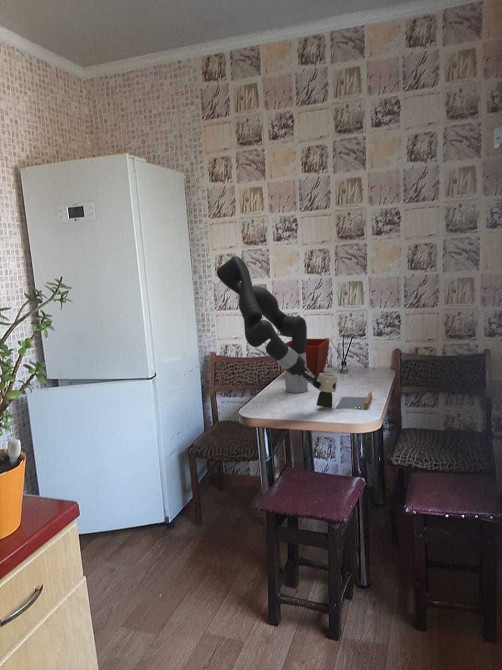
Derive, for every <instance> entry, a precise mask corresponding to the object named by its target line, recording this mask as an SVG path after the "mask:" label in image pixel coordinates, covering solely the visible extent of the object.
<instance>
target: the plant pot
mask: <svg viewBox="0 0 502 670" xmlns="http://www.w3.org/2000/svg"><path fill="white" fill-rule="evenodd" d="M284 343H285V344H286V345H290V344H291V343H292V339H291V340H289V341H286V342H284ZM329 347H330V339H329V338H307V345H306V366H307V368H308V369H309V371H310V372H311V373H315V374H316V376H317V378H319V374H320V373H324V371H325V367H326V363H327V360H328V355H329Z"/></svg>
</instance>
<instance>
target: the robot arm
mask: <svg viewBox="0 0 502 670" xmlns="http://www.w3.org/2000/svg"><path fill="white" fill-rule="evenodd" d="M216 275H217V277H218V279H219V280H220V281H221V282H222V284H224V285H225V286H226V287H227V288H229V289H230V290H231V291H233V292H234V293H235V294H237V295H238V296H239V297H238V307H239V311H240V313H241V316H242V319H243V325H244V327H243V328H244V337H245V339H246V342H247V343H248V344H249V346H251V347H253V348H259V347H261V346H262V345H263V344H264V343H265V342H267V341H268V340H269V341H268V343H267V344H266V346H265V352H266V353H267V354H268V355H269V356H270V357H271V359H274V361H276V363H277V364H278V365H279V366H281V367H282V368H283V369H284V384H285V392H286V393H292V394H296V393H298V394H299V393H305V392H308V390H309V386H308V385H309V384H310V385H312V386H313V387H314V389H317V390H318V389H319V388H320V386H321V384H320V383H319V382H318V380H319V377H317V376H316V374H315V373H311V372H310V371H309V369H308V368H307V366H306V345H307V339H308V327H307V322H306V319H305V318H303V317H302V316H290V315H287V314H286V313H284V312H283V311H282V310H281V309H280V307H279V306H280V305H279V303H278V299H277V298H276V297H275V296H274V295H273V294H272V293H271V292H270V290H268V289H267V288H264V287H263V286H262V287H261V286H256V285H253V283H252V279H251V278H252V277H251V275H250V271H249V268H248V265H247V264H246V262H245V261H244V260H243V259H242V258H241V257H239V256H236V255H235V256H232V257H231V258H229V260H227V261H226V262H225V263H224V264H222V265H220V266H219V267H218V269H217V270H216ZM263 317H264V319H263ZM265 318H266V319H265ZM274 327H275V328H274ZM276 330H277V331H278V332H279V333H280V334H281V335H282V336H284V337H286V338H291V340H292V343H291V344H290V345H286V344H285V343H286V342H285V341H283V340H282V339H281V337H280V335H278V333H277V331H276Z"/></svg>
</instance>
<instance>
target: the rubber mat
mask: <svg viewBox="0 0 502 670" xmlns="http://www.w3.org/2000/svg"><path fill="white" fill-rule="evenodd" d="M372 400H373V392H371V391H370V392H368V394H367V396H365V397H364V396H342V397H340V400H339V402H338V403H337V405H336V407H335V409H336V408H355V407H356V408H359V407H360V408H359V409H358V410H369V408H370V405H371V402H372ZM368 407H369V408H368ZM362 408H363V409H362Z"/></svg>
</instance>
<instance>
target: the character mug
mask: <svg viewBox="0 0 502 670" xmlns="http://www.w3.org/2000/svg"><path fill="white" fill-rule="evenodd" d="M338 377H339V376H338V375H336V374H332V373H324V372H323V373H320V374H319V376H318V379H317V381H318V382H319V383H320V384H321V386H320V388H319V389H317V390H318V391H320V392H318V393H319V394H318V398H317V400H316V406H317V407H322V408H323V409H332V408H333V393H336V391H337V384H338Z"/></svg>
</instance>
